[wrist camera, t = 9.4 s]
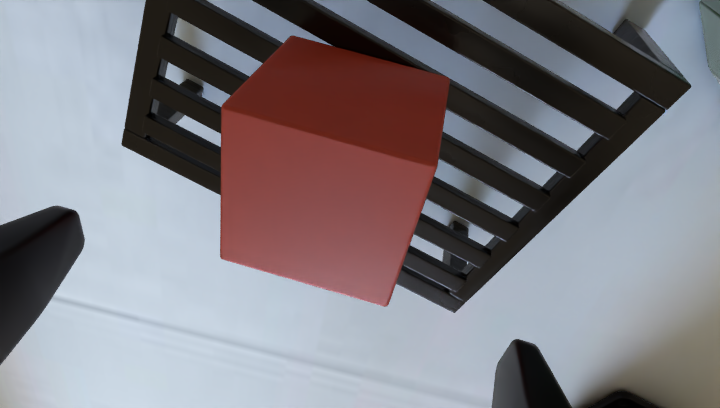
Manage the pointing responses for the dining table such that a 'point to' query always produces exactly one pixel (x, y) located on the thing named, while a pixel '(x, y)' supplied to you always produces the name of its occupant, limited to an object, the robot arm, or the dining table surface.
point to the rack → (414, 6)
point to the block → (329, 166)
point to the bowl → (711, 34)
